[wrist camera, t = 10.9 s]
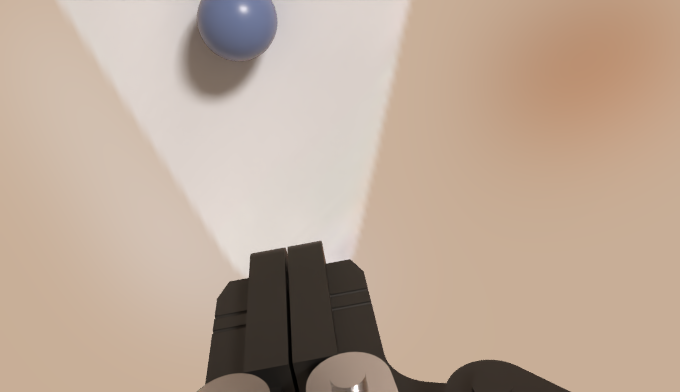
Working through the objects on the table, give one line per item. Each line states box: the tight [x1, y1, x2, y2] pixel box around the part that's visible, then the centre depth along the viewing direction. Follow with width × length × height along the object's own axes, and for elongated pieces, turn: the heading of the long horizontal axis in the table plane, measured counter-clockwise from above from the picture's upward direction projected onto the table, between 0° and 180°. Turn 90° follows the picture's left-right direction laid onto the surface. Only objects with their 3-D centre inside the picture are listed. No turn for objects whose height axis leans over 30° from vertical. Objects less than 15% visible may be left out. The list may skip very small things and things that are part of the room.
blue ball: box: [197, 0, 277, 61], centre depth 37 cm, size 5×5×5 cm
